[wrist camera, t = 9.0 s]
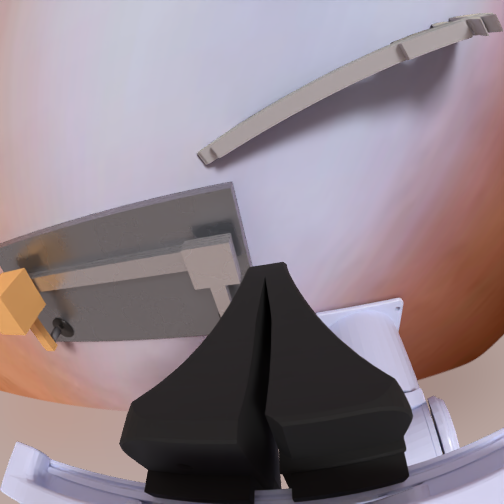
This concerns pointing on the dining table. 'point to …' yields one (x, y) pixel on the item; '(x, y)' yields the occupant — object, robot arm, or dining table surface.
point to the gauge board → (138, 267)
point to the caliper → (352, 77)
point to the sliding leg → (23, 308)
